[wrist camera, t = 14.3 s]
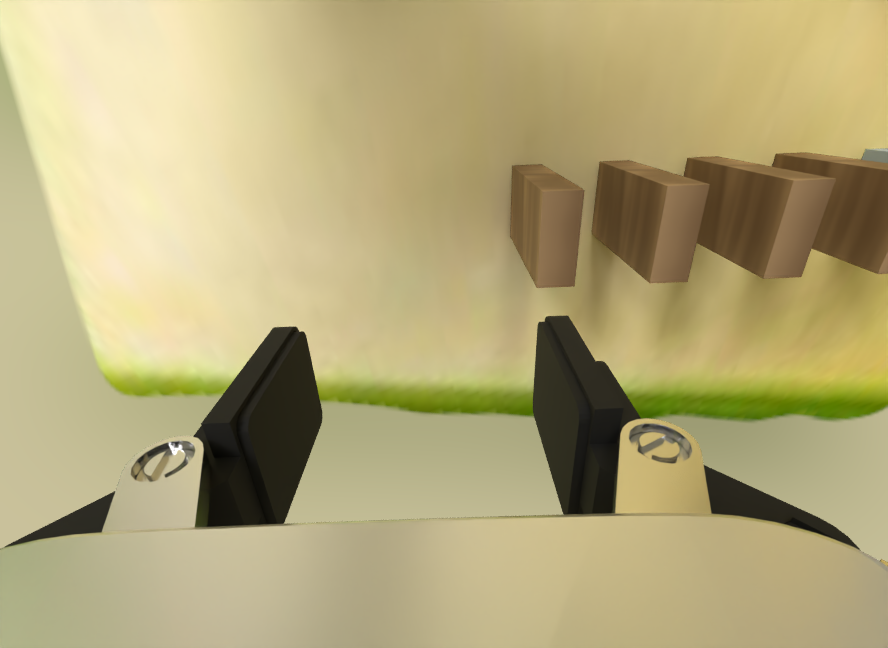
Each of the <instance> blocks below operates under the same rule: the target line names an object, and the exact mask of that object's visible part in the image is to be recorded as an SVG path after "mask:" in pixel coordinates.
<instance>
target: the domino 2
mask: <svg viewBox="0 0 888 648" xmlns="http://www.w3.org/2000/svg"><path fill="white" fill-rule="evenodd" d="M709 185H710V184H707V183H704V182H700V181H697V180H694V179H690V178H687V177H683V176H680V175H677V174H673V173H670V172H667V171H663V170H660V169H656V168H653V167H650V166H646V165H643V164H639V163H636V162H633V161H629V160H627V161H605V162H600V164H599V173H598V181H597V190H596V199H595V208H594V216H593V225H592V234H593V235H594V236H595V237H596V238H597V239H599V240H600V241H601V242H602V243H603V244H605V245H606V246H607V247H608V248H609V249H610V250H612V251H613V252H614V253H615V254H616V255H617V256H619V257H620V258H621V259H622V260H623V261H624V262H626V263H627V264H628V265H629V266H630V267H631V268H633V269H634V270H635V271H636V272H637V273H638V274H640V275H641V276H642V277H643V278H644V279H645V280H647V281H648V282H649V283H666V282H688V277H689V273H690V268H691V264H692V260H693V255H694V251H695V247H696V242H697V238H698V233H699V229H700V225H701V220H702V216H703V212H704V207H705V203H706V198H707V194H708V190H709Z"/></svg>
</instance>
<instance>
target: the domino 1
mask: <svg viewBox="0 0 888 648" xmlns="http://www.w3.org/2000/svg"><path fill="white" fill-rule="evenodd" d="M583 198H584V189H582V188H580V187H579V186H577V185H575V184H574V183H572V182H570V181H569V180H567V179H565V178H564V177H562V176H560V175H559V174H557V173H555V172H553V171H552V170H550V169H548V168H547V167H545V166H543V165H542V164H538V165H515V166H512V197H511V232H510V237H511V239H512V241H513V243H514V245H515V247H516V249H517V251H518V252H519V254H520V256H521V258H522V260H523V262H524V264H525V266H526V268H527V270H528V272H529V274H530V275H531V277H532V279H533V281H534V283H535V285H536V287H537V288H545V287H570V286H575V276H576V266H577V256H578V247H579V237H580V227H581V217H582V208H583Z"/></svg>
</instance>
